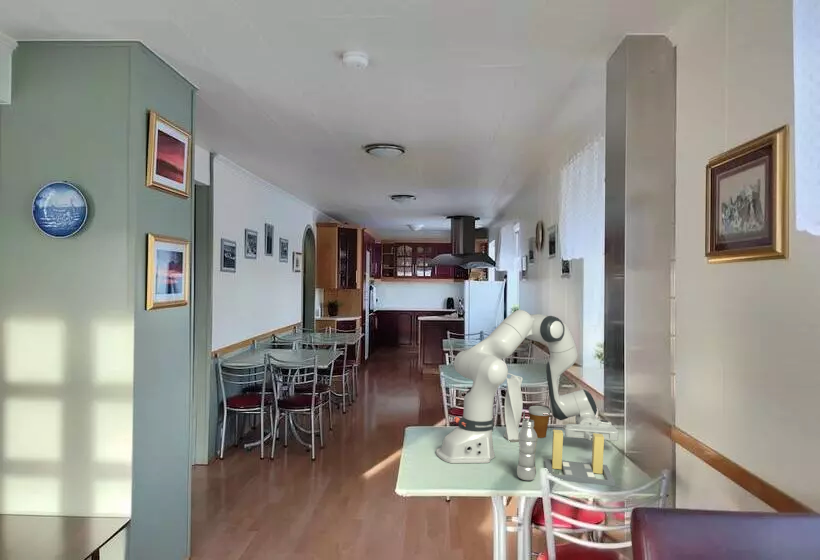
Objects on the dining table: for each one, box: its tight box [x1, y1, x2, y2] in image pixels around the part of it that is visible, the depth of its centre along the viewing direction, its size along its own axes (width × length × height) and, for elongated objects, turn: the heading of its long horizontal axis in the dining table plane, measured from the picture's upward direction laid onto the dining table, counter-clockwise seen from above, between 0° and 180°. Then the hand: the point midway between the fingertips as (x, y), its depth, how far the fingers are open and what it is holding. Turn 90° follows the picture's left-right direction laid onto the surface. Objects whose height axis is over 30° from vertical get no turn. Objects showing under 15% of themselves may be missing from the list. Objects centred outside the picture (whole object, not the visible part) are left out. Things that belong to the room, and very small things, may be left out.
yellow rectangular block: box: [551, 429, 564, 470], centre depth 193 cm, size 4×3×13 cm
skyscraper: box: [503, 372, 526, 443], centre depth 225 cm, size 8×8×28 cm
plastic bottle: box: [516, 418, 538, 481], centre depth 181 cm, size 6×7×20 cm
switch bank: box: [544, 458, 616, 487], centre depth 188 cm, size 16×22×2 cm
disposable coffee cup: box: [527, 405, 552, 439], centre depth 231 cm, size 10×10×12 cm
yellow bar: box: [591, 433, 605, 475], centre depth 191 cm, size 4×3×13 cm
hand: (593, 438), depth 205 cm, fingers closed
